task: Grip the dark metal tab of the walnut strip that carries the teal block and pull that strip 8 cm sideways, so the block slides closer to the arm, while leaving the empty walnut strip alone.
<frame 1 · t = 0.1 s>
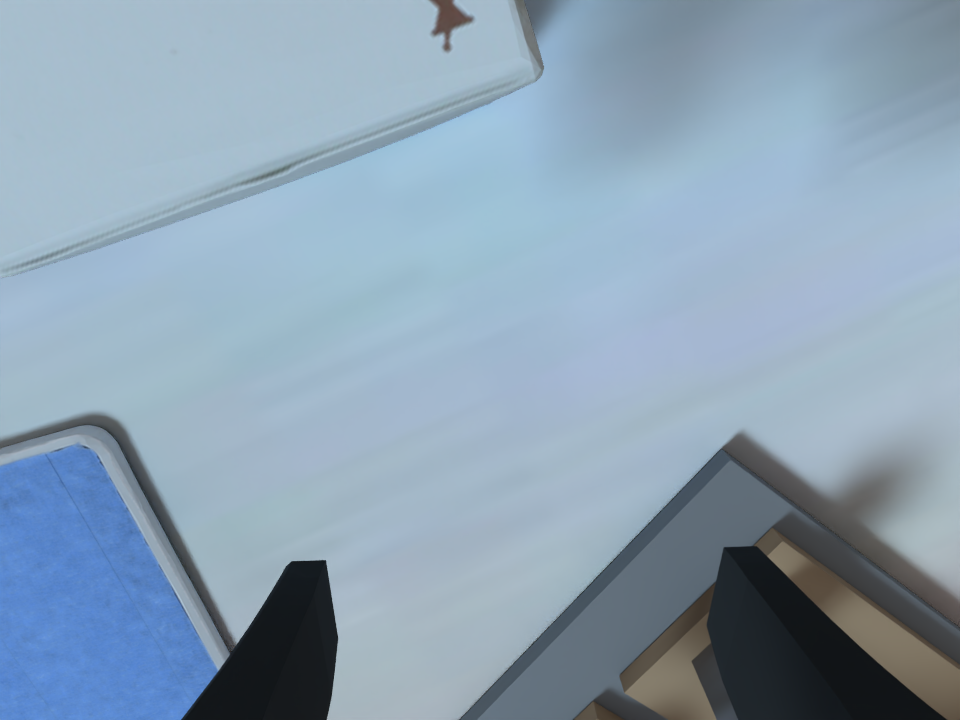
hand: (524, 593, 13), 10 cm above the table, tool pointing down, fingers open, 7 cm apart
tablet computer: (82, 668, 27), on the table
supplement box: (328, 14, 19), on the table
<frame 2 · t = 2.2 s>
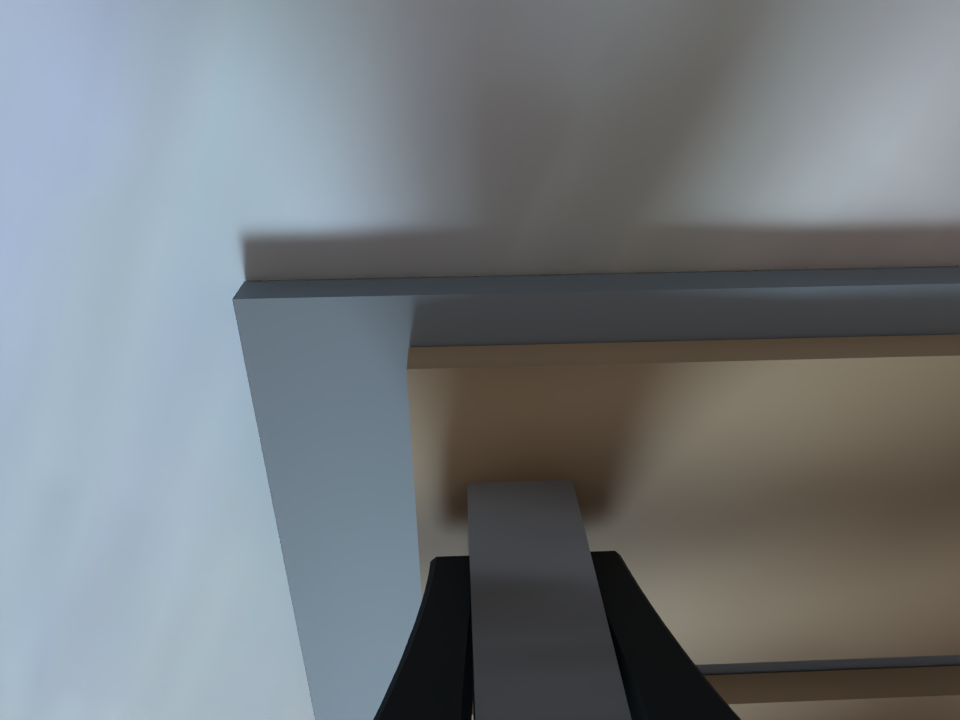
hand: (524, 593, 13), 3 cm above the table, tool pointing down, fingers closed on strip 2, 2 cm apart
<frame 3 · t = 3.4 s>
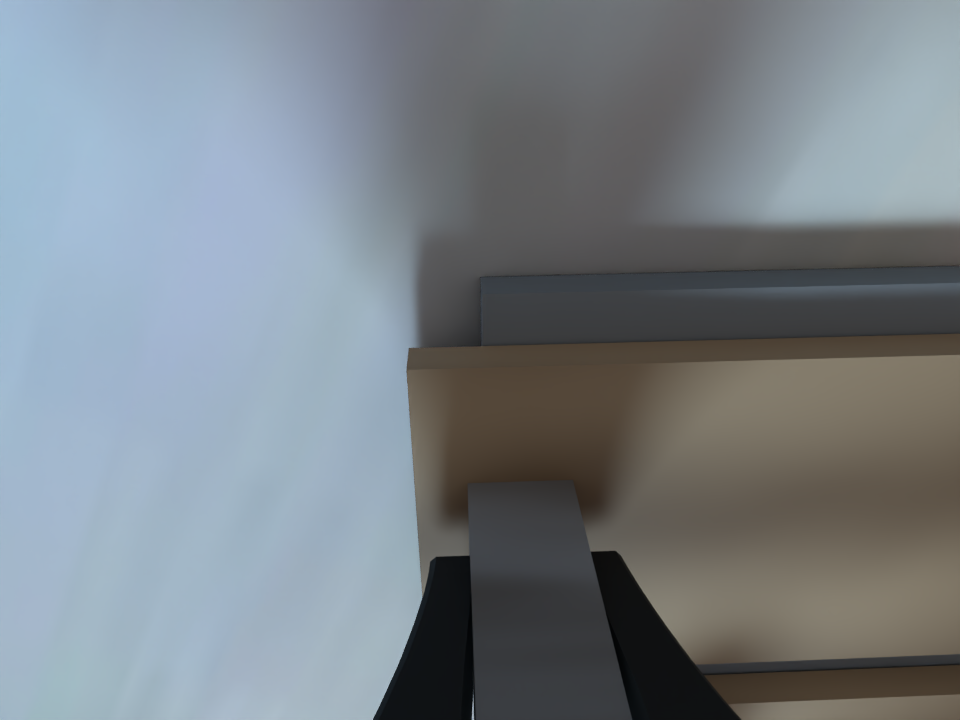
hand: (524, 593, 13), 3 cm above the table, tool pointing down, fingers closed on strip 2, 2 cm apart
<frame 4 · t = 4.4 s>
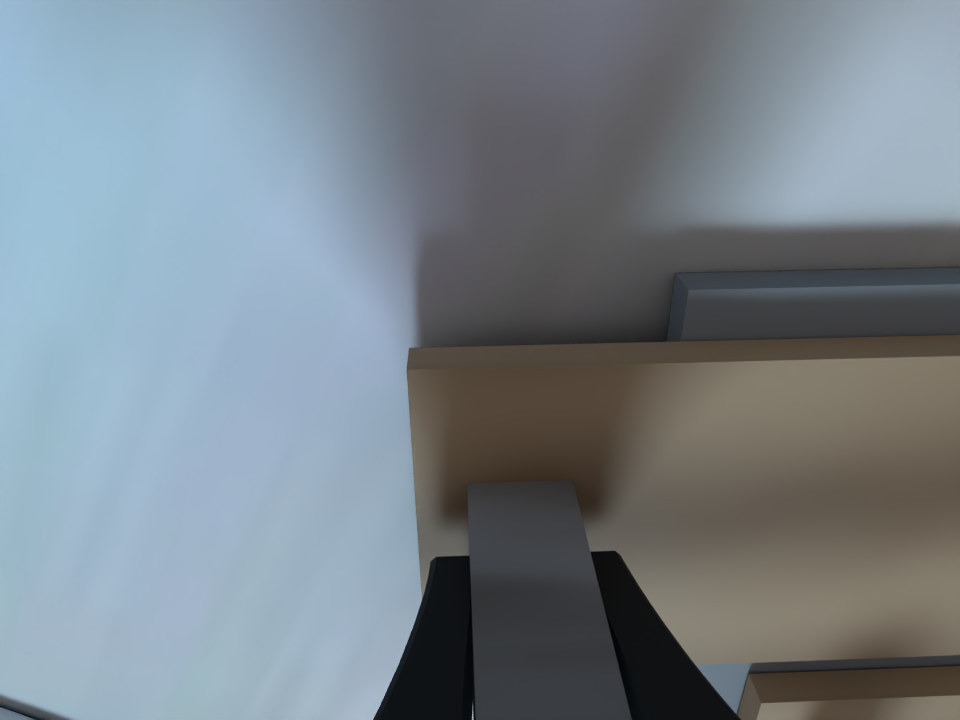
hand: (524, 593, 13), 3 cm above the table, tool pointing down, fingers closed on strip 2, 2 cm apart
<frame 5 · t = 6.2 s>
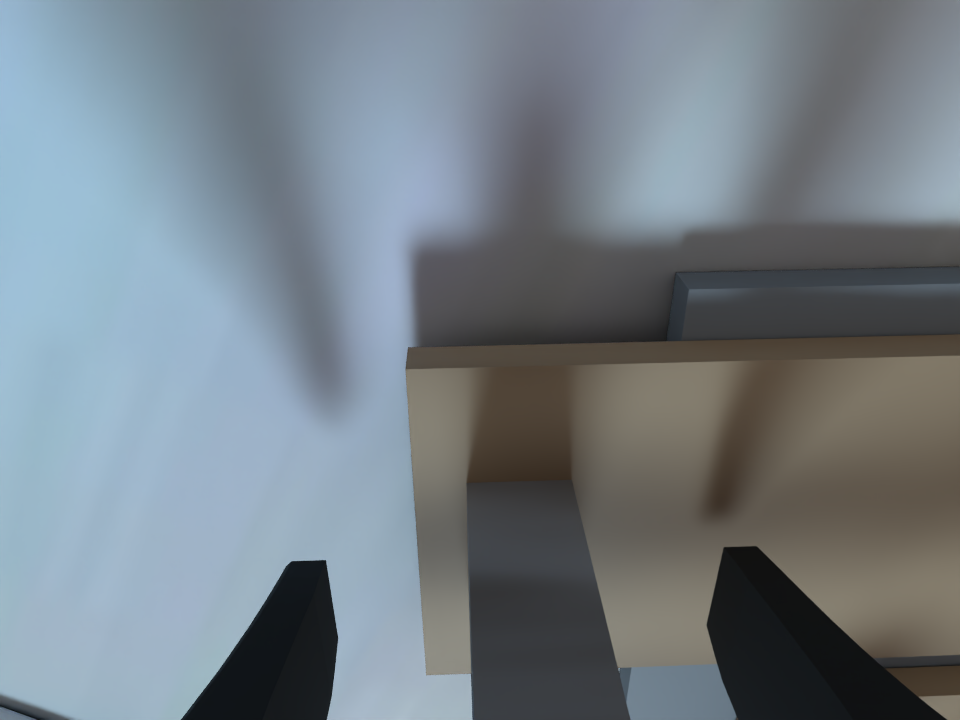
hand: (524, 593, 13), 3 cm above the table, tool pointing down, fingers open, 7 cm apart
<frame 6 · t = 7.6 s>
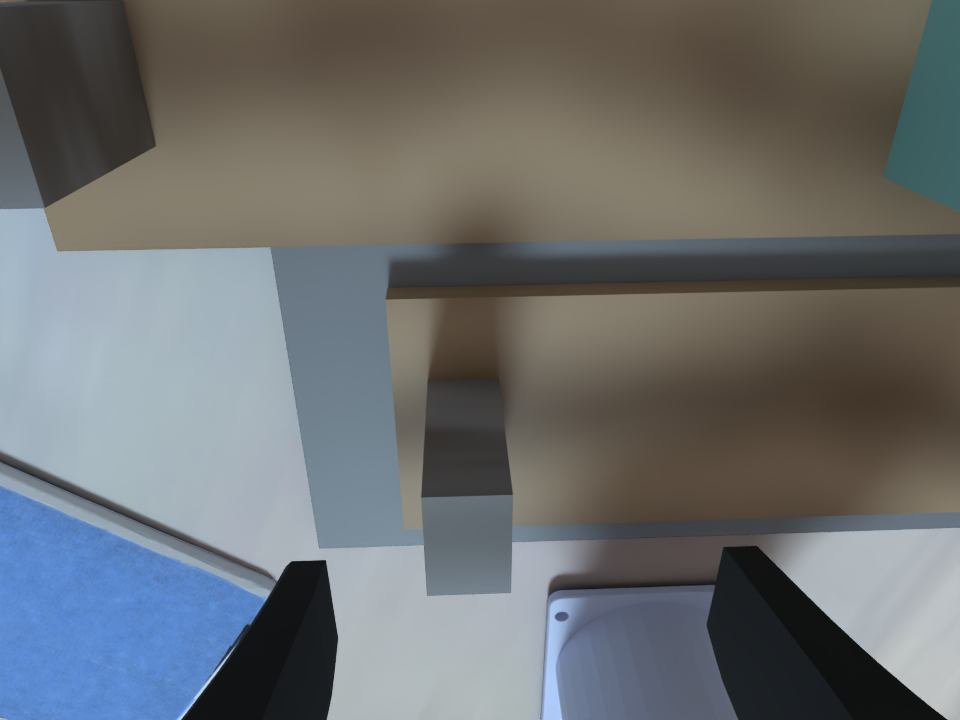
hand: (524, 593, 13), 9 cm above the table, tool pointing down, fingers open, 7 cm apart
lane board: (878, 249, 20), on the table
strip 1: (909, 455, 19), point 4 cm above the table, slide at 0.0 cm
strip 2: (656, 83, 14), point 4 cm above the table, slide at 8.0 cm, touching teal block
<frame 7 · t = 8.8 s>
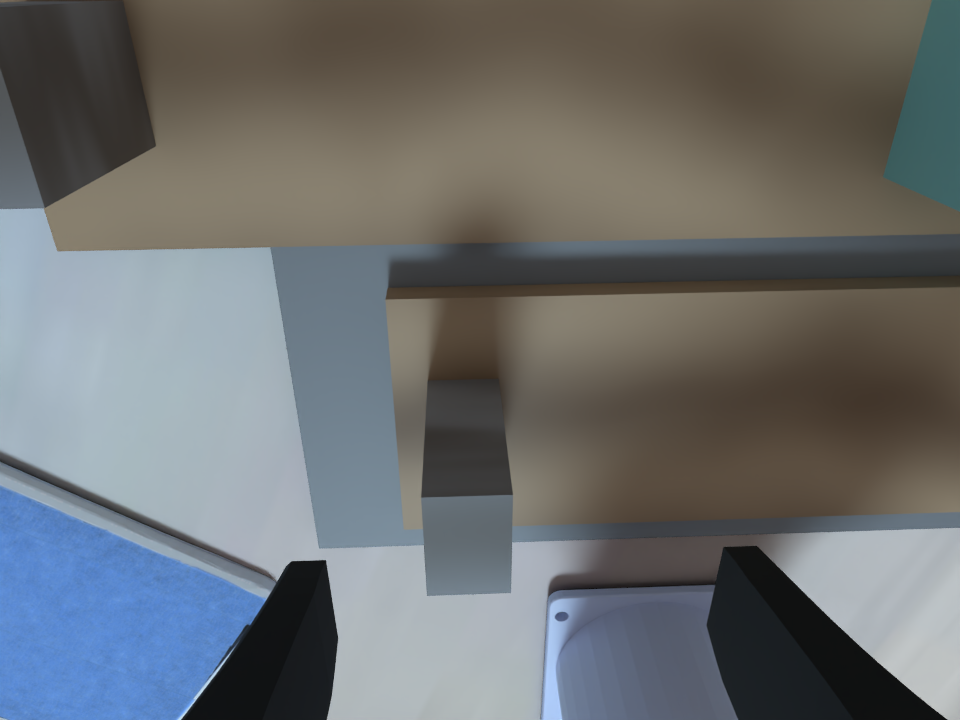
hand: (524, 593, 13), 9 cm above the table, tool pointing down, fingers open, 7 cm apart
lane board: (878, 249, 20), on the table
strip 1: (909, 455, 19), point 4 cm above the table, slide at 0.0 cm
strip 2: (656, 83, 14), point 4 cm above the table, slide at 8.0 cm, touching teal block
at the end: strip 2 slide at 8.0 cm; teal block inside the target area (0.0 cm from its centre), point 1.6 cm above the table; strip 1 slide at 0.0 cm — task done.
